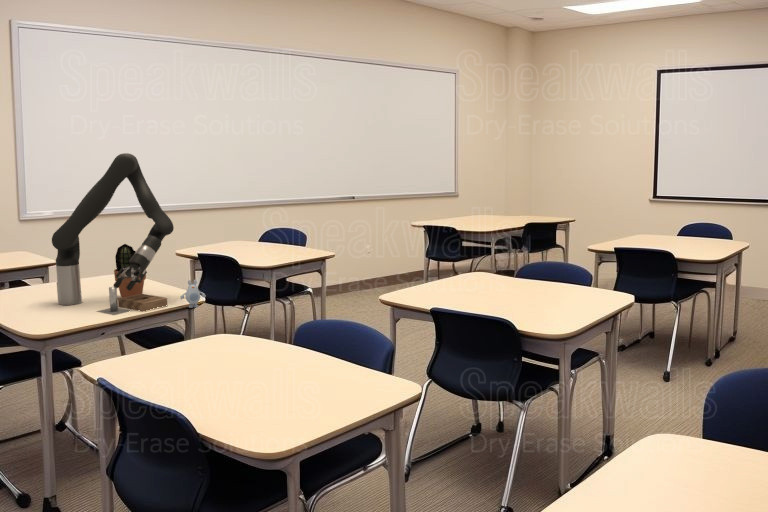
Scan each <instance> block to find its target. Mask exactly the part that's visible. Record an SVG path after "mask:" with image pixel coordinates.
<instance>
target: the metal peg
mask: <svg viewBox="0 0 768 512" xmlns="http://www.w3.org/2000/svg"><path fill="white" fill-rule="evenodd" d="M108 294H109V295H108V298H109V308H110V312H116V311H118V308H119V307H118V288H117V287H114V286H110V287H108Z"/></svg>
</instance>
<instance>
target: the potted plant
mask: <svg viewBox="0 0 768 512" xmlns="http://www.w3.org/2000/svg"><path fill="white" fill-rule="evenodd" d="M136 251H137V250H134V248H133V246H131V245H128V243H127V244H126V243H124V244H121V246H119V247H117V250H116V253H115V257H114V258H115V268H116V269H114V270H113V275H114V281H115V282H116V280H117V279H118V278H117V277H116V274H117V273H118V272H119V271H120V269H121V268H122V267H123V266H125V267H128V266H129V265H130V263H129V261H130V259H131V258H132V256H133V255H134V254H135V252H136ZM120 275H121V273H120ZM125 275H126V273H125ZM122 278H123V277H122ZM139 279H140V277H139ZM146 279H147V274H146V275H145V276H144V278H143V280H142V281H141V283H137V284H135V285H134V287H133V288H132V289H131V290H130V291H129V290H127V289H126V287H127V285H128V284H129V282H130V281H132V278H128V279H125V280H123V281H122V283H121V284H120V286H119V287H118V288H117V289H118V290H119V294H120V298H123V297H128V296H133V295H137V294H144V286H145V284H144V283H145V280H146Z"/></svg>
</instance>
